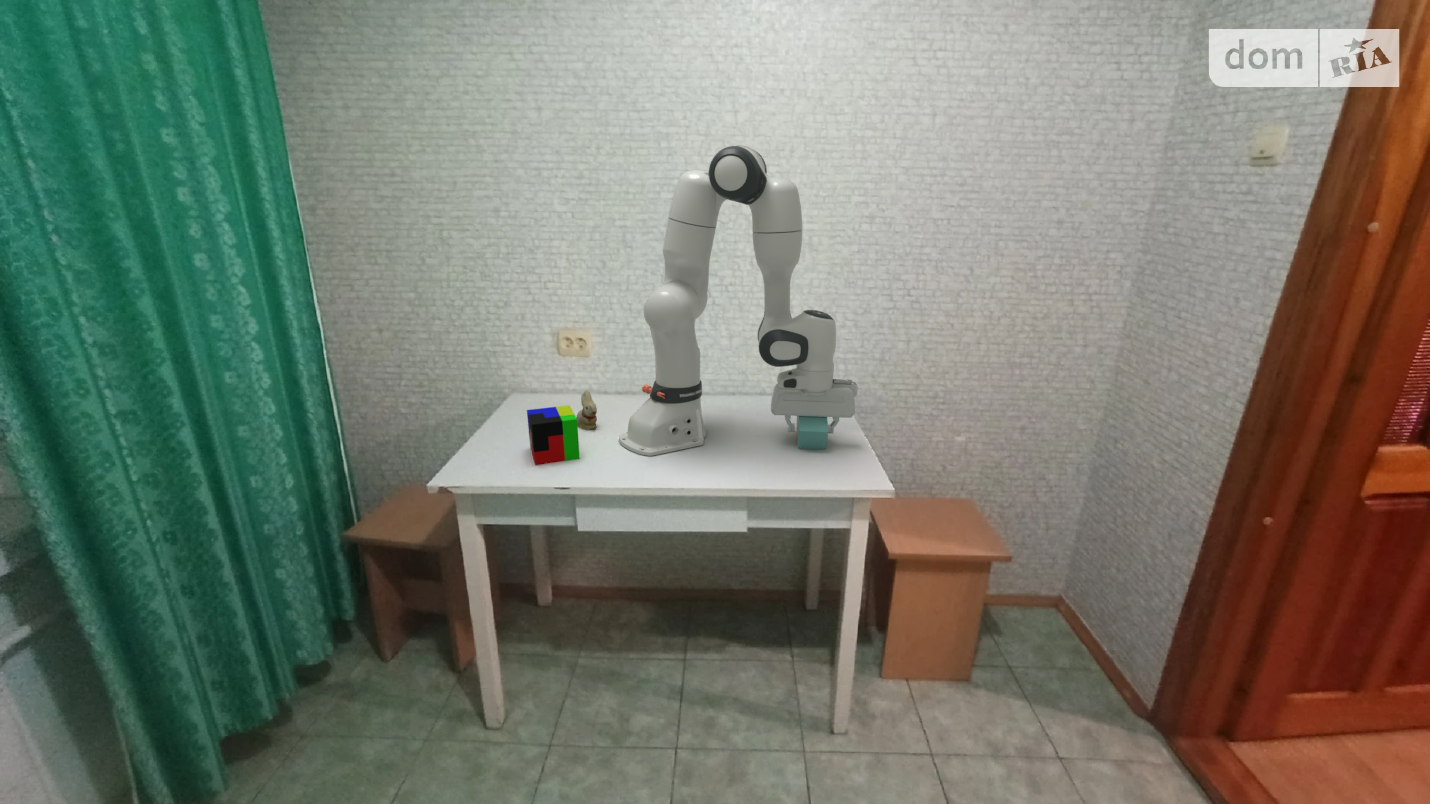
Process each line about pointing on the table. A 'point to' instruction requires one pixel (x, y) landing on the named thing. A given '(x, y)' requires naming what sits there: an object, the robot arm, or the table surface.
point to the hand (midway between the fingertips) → (810, 432)
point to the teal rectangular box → (812, 432)
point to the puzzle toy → (553, 434)
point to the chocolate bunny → (587, 412)
